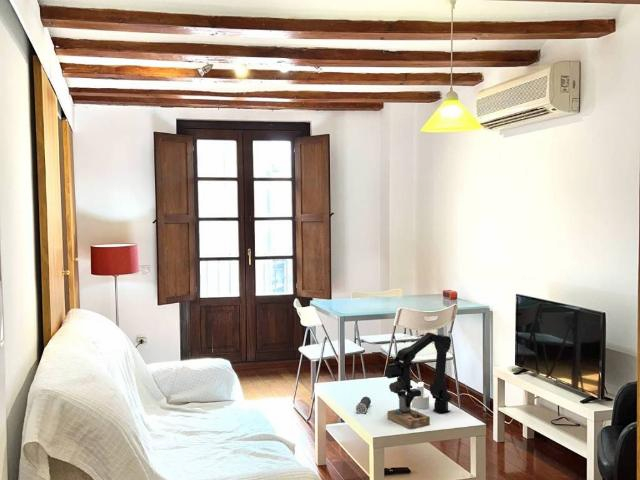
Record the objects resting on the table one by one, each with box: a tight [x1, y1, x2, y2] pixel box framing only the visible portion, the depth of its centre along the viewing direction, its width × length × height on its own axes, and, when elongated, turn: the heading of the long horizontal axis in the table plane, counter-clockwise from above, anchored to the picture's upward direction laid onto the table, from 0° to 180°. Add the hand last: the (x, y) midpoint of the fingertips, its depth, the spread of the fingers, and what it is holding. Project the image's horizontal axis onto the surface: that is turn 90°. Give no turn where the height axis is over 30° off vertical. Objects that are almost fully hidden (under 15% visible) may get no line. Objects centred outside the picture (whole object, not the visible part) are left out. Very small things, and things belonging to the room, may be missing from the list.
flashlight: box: [355, 396, 372, 415], centre depth 341 cm, size 15×5×5 cm, turn 165°
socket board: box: [387, 408, 431, 430], centre depth 320 cm, size 12×18×5 cm, turn 31°
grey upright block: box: [398, 395, 412, 412], centre depth 324 cm, size 4×4×7 cm
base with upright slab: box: [411, 381, 430, 410], centre depth 344 cm, size 9×9×12 cm
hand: (404, 406), depth 324 cm, fingers closed on grey upright block, 4 cm apart
